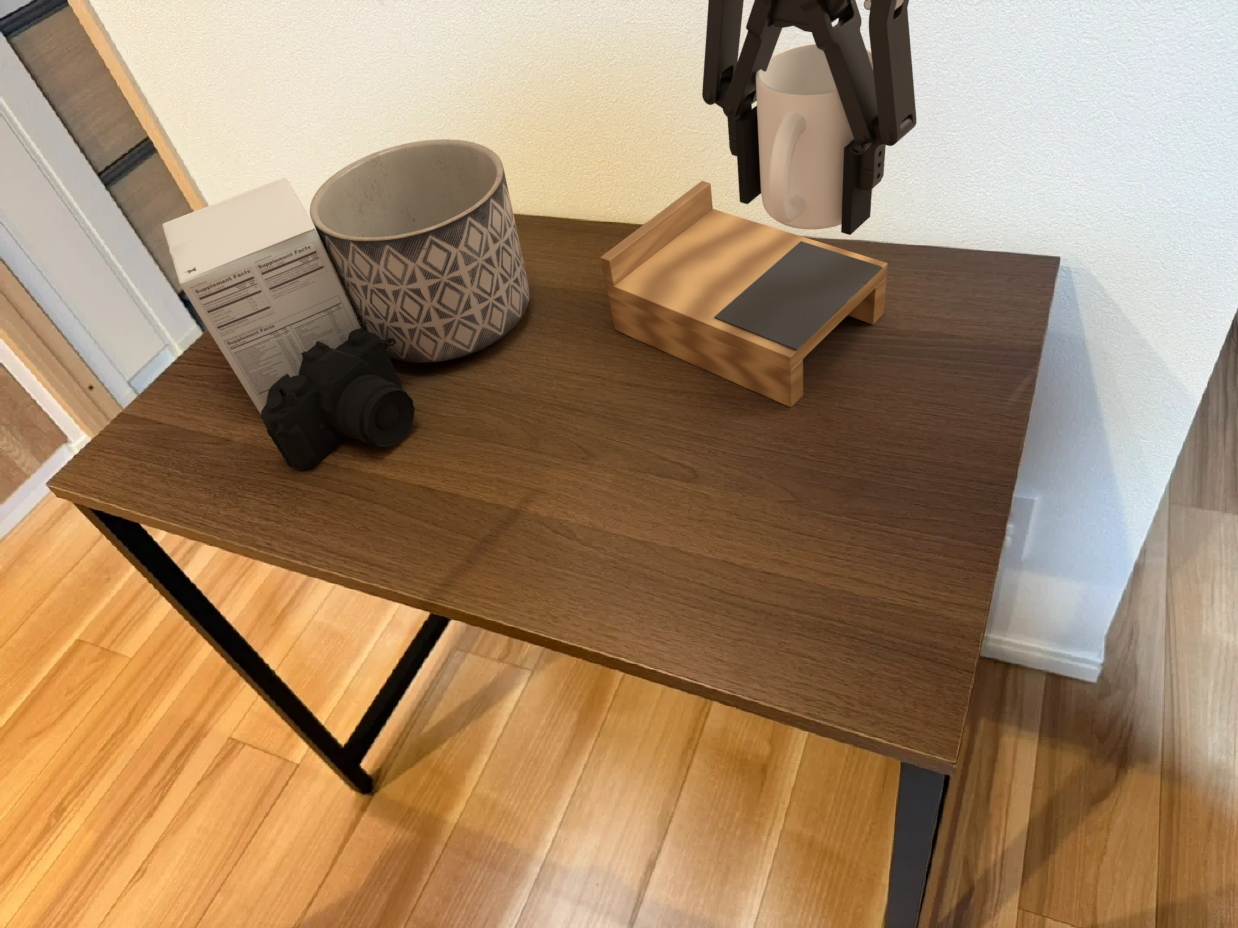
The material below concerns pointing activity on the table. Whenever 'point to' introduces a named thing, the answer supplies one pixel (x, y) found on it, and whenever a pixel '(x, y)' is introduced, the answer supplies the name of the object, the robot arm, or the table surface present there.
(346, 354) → the film camera
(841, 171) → the mug
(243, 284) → the supplement box
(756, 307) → the shelf
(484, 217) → the planter
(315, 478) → the table surface
